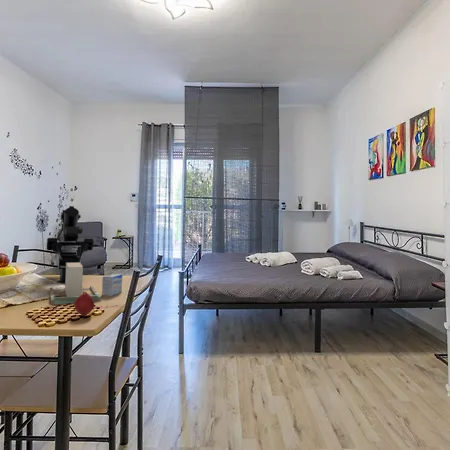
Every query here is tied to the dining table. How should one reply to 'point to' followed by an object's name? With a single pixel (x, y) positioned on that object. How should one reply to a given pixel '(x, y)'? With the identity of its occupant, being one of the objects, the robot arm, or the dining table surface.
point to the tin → (73, 279)
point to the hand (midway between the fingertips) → (71, 259)
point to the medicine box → (112, 284)
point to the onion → (84, 304)
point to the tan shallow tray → (65, 299)
